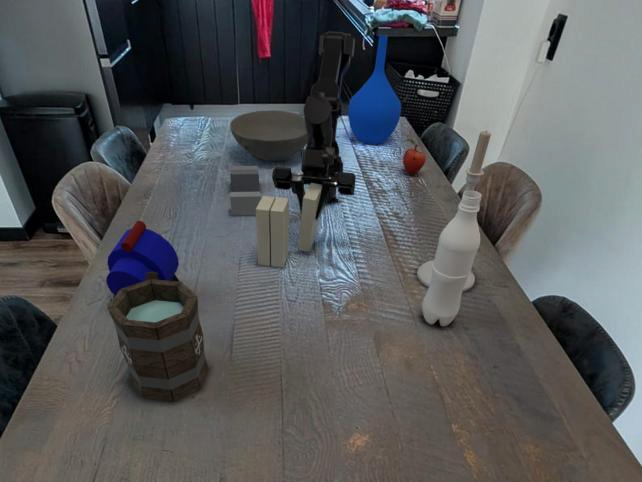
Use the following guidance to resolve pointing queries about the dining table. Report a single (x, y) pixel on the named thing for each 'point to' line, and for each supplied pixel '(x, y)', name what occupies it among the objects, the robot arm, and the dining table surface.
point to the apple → (413, 160)
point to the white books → (272, 230)
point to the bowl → (270, 134)
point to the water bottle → (453, 262)
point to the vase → (375, 104)
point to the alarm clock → (140, 258)
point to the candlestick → (472, 180)
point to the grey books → (244, 190)
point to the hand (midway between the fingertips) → (309, 218)
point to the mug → (160, 337)
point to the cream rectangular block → (309, 217)
